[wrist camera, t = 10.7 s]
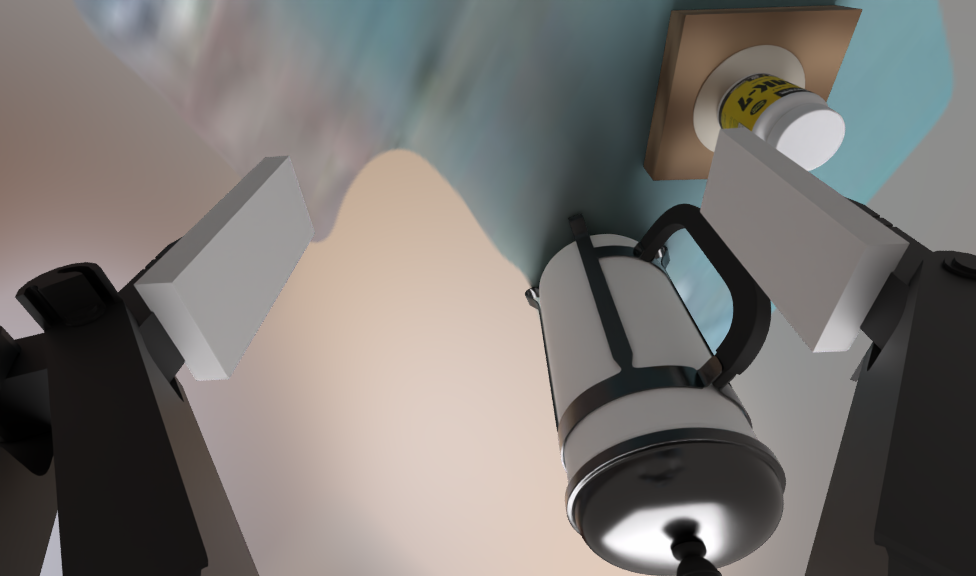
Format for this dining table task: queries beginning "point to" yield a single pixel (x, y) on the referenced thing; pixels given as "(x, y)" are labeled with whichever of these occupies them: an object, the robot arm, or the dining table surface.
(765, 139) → the supplement bottle
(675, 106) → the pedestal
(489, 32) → the dining table surface
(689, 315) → the coffee press
